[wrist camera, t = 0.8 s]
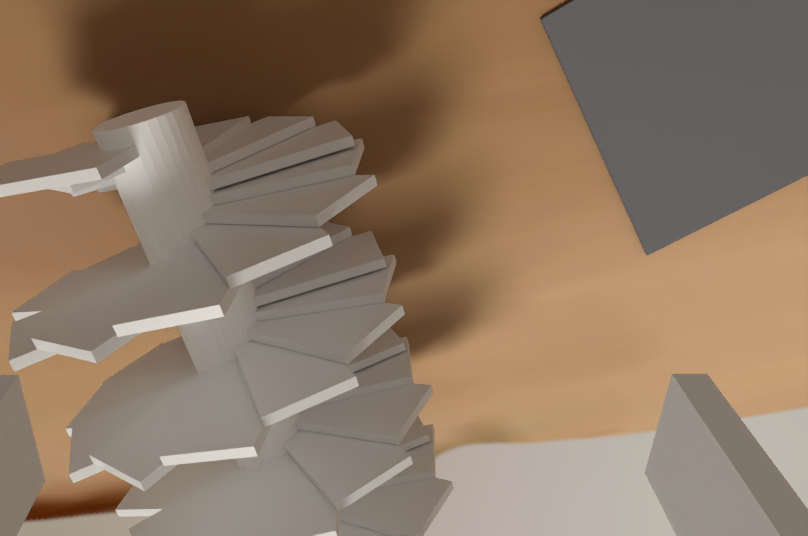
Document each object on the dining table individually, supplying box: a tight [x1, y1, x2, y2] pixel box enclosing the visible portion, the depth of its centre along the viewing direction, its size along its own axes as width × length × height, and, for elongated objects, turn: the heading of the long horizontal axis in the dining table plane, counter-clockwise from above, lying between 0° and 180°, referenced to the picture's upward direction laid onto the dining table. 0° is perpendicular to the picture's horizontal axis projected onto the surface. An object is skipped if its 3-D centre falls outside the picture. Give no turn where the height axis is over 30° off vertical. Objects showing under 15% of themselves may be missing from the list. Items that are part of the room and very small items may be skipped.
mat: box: [540, 0, 808, 255], centre depth 38 cm, size 16×18×1 cm
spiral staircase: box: [0, 101, 453, 536], centre depth 35 cm, size 18×18×25 cm
